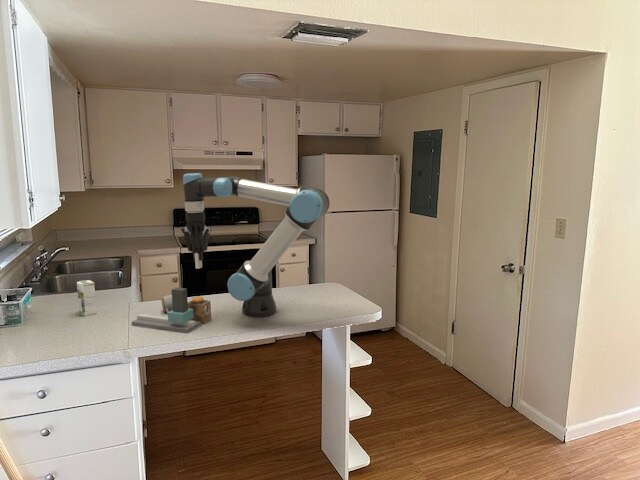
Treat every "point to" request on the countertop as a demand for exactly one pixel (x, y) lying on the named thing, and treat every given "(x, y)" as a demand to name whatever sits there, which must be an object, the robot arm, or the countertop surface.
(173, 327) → the rail
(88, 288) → the syrup box
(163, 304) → the ceramic mug
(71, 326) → the countertop surface
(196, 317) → the gauge cabinet
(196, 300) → the button
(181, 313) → the carriage
